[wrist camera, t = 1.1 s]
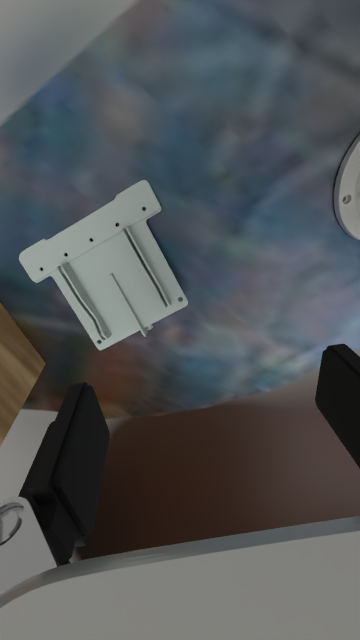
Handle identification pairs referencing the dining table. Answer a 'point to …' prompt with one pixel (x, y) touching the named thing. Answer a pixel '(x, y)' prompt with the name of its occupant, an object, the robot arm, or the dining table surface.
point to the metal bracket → (111, 268)
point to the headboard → (15, 370)
